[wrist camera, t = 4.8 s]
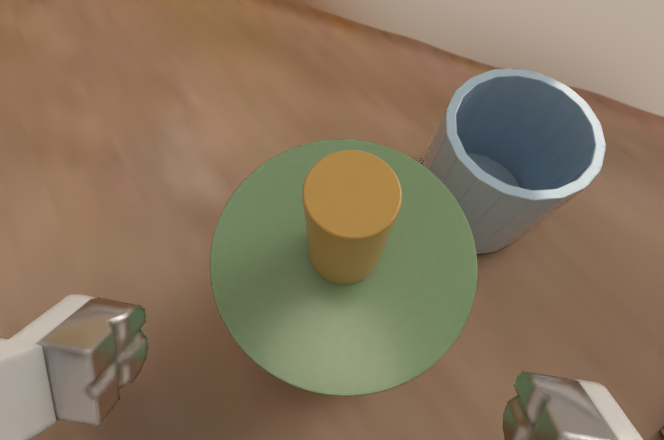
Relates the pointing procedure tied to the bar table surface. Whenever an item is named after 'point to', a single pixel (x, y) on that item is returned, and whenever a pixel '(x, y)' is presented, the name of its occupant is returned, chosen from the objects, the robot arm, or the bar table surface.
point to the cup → (514, 152)
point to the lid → (343, 267)
